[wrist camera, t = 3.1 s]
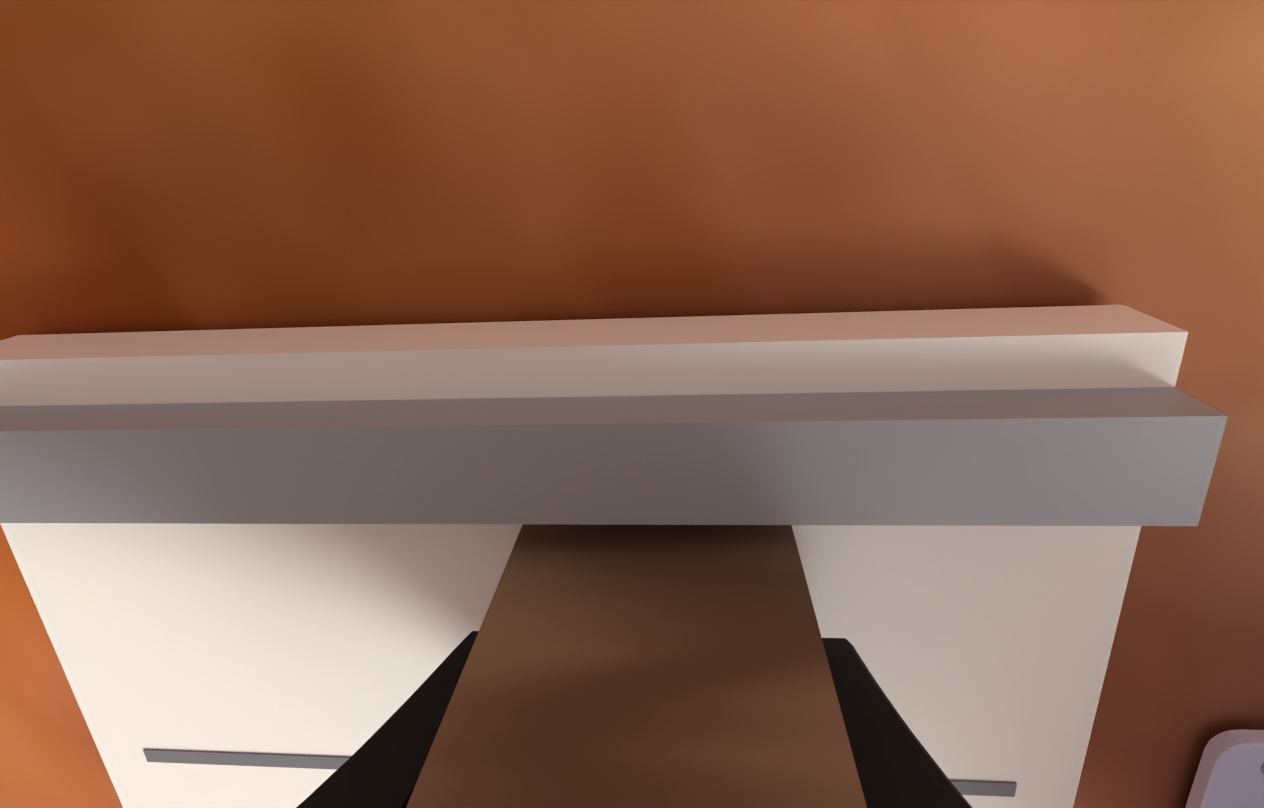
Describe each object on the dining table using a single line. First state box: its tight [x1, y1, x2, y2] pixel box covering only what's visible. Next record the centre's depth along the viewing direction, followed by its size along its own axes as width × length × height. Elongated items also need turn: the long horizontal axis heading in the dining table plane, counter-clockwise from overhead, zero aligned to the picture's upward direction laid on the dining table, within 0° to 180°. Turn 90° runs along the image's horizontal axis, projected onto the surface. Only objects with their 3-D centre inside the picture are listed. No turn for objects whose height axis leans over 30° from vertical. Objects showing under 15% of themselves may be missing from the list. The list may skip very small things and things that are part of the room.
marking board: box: [0, 305, 1228, 808], centre depth 13 cm, size 18×14×2 cm
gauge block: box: [406, 524, 867, 808], centre depth 8 cm, size 4×4×6 cm
